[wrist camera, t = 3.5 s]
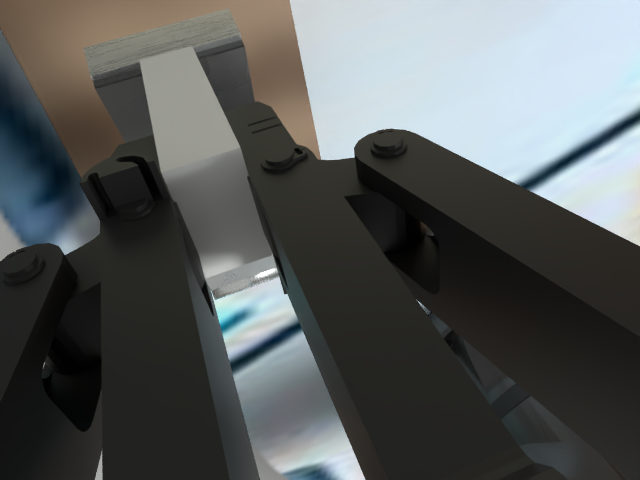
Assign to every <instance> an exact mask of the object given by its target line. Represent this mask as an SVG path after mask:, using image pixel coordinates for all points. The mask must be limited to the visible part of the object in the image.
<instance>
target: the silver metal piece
mask: <svg viewBox="0 0 640 480" xmlns="http://www.w3.org/2000/svg"><path fill="white" fill-rule="evenodd" d="M189 46H192V47H193V49H194V51H195V53H196V56H197V58H198V60H199V62H200V64H201V66H202V68H203V70H204V72H205V74H206V76H207V79H208V81H209V83H210V85H211V87H212V89H213V91H214V93H215V95H216V97H217V99H218V102H219V104H220V106H221V108H222V110H223V112H224V111H227V110H231V109H234V108H237V107H241V106H244V105H247V104H251V103H254V102H255V99H254V93H253V88H252V83H251V77H250V72H249V66H248V61H247V56H246V50H245V46H244V44H243V41H242V38H241V34H240V32H239V29H238V27H237V25H236V23H235V20H234V18H233V16H232V14H231V12H230V9H229V8H228V9H224V10H221V11H217V12H213V13H210V14H206V15H202V16H199V17H195V18H191V19H188V20H184V21H180V22H176V23H173V24H169V25H165V26H162V27H158V28H154V29H151V30H147V31H143V32H139V33H136V34H132V35H128V36H125V37H121V38H117V39H114V40H110V41H106V42H103V43H99V44H95V45H91V46H88V47H84V48H83V49H84V53H85V57H86V61H87V65H88V69H89V74H90V77H91V79H92V80H93V83H94V87H95V90H96V92H97V93H98V95H99V97H100V99H101V100H102V102H103V104H104V106H105V107H106V109H107V111H108V113H109V115H110V116H111V118H112V120H113V122H114V123H115V125H116V127H117V129H118V130H119V132H120V134H121V136H122V137H123V139H124V141H125V143H127V142H130V141H134V140H137V139H140V138H144V137H147V136H150V135H154V133H153V128H152V123H151V118H150V113H149V107H148V102H147V97H146V92H145V87H144V81H143V76H142V71H141V66H140V61H139V60H142V59H146V58H149V57H153V56H156V55H160V54H164V53H167V52H171V51H174V50H178V49H182V48H185V47H189ZM271 252H272V251H271ZM203 273H204V271H203ZM204 277H205V279H206V282H207V284H208V286H209V288H210V289H211V291H212V293H213V296H214V298H215V300H217V299H220V298H222V297H225V296H228V295H231V294H233V293H236V292H239V291H242V290H245V289H247V288H250V287H253V286H256V285H258V284H261V283H264V282H267V281H270V280H272V279H275V278H278V277H279V274H278V270H277V267H276V264H275V260H274V257H273V254H272V255H271V256H268V257H265V258H262V259H260V260H257V261H254V262H251V263H248V264H245V265H243V266H240V267H237V268H234V269H231V270H228V271H226V272H223V273H220V274H217V275H214V276H211V277H208V278H206V276H205V274H204Z"/></svg>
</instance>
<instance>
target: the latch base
mask: <svg viewBox="0 0 640 480" xmlns="http://www.w3.org/2000/svg"><path fill="white" fill-rule="evenodd" d="M228 8H229V9H230V12H231V14H232V16H233V18H234V20H235V23H236V25H237V27H238V29H239V32H240V34H241V38H242V41H243V44H244V46H245V50H246V56H247V61H248V66H249V72H250V77H251V83H252V88H253V93H254V99H255V102H257V101H259V102H261V103H263V104H266V105H268V106H271V107H272V109H273V110H274V112H275V113H276V115H277V117H278V118H279V119H280V121H281V122H282V124H283V125H284V126H285V128H286V129H287V131H288V132H289V134H290V135H291V137H292V138H293V140H294V141H295V143H296V144H298V145H302V146H305V147H307V148H308V149H310V150H311V151H312V152H313V153H314V155H315V156H316V158H317V159H318V160H321V157H320V152H319V147H318V142H317V137H316V132H315V127H314V122H313V117H312V112H311V107H310V102H309V97H308V92H307V87H306V82H305V77H304V72H303V67H302V62H301V57H300V52H299V47H298V42H297V36H296V31H295V26H294V21H293V16H292V11H291V6H290V1H289V0H0V29H1V31H2V33H3V34H4V36H5V38H6V40H7V42H8V44H9V45H10V47H11V49H12V51H13V53H14V55H15V57H16V58H17V60H18V62H19V64H20V66H21V68H22V69H23V71H24V73H25V75H26V77H27V79H28V81H29V82H30V84H31V86H32V88H33V90H34V92H35V93H36V95H37V97H38V99H39V101H40V103H41V105H42V106H43V108H44V110H45V112H46V114H47V116H48V117H49V119H50V121H51V123H52V125H53V127H54V129H55V130H56V132H57V134H58V136H59V138H60V140H61V141H62V143H63V145H64V147H65V149H66V151H67V153H68V154H69V156H70V158H71V160H72V162H73V164H74V165H75V167H76V169H77V171H78V173H79V175H80V177H81V178H82V176H83V175H84V174H85V173H86V172H87V171H88V170H89V169H90V168H91V167H93V166H95V165H96V164H98V163H99V162H101V161H103V160H105V159H108V158H110V157H111V155H112V154H113V152H114V151H115V149H116V148H117V146H118V145H120V144H124V143H125V141H124V139H123V137H122V136H121V134H120V132H119V130H118V129H117V127H116V125H115V123H114V122H113V120H112V118H111V116H110V115H109V113H108V111H107V109H106V107H105V106H104V104H103V102H102V100H101V99H100V97H99V95H98V93H97V92H96V90H95V87H94V83H93V80H92V79H91V77H90V74H89V69H88V65H87V61H86V57H85V53H84V49H83V48H84V47H88V46H91V45H95V44H99V43H103V42H106V41H110V40H114V39H117V38H121V37H125V36H128V35H132V34H136V33H139V32H143V31H147V30H151V29H154V28H158V27H162V26H165V25H169V24H173V23H176V22H180V21H184V20H188V19H191V18H195V17H199V16H202V15H206V14H210V13H213V12H217V11H221V10H224V9H228ZM209 289H210V288H209ZM210 290H211V289H210Z"/></svg>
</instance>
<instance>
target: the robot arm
mask: <svg viewBox="0 0 640 480" xmlns="http://www.w3.org/2000/svg"><path fill="white" fill-rule="evenodd" d="M139 61H140V66H141V71H142V76H143V81H144V87H145V92H146V97H147V102H148V107H149V113H150V118H151V123H152V128H153V133H154V135H150V136H147V137H144V138H140V139H137V140H134V141H130V142H127V143H124V144H120V145H118V146H117V148H116V149H115V151H114V152H113V154H112V155H111V157H110V158H108V159H105V160H103V161H101V162H99V163H98V164H96V165H95V166H93V167H91V168H90V169H89V170H88V171H87V172H86V173H85V174H84V175H83V176H82V179H81V181H80V186H81V187H82V189H83V191H84V193H85V194H86V196H87V198H88V200H89V202H90V203H91V205H92V207H93V209H94V210H95V212H96V214H97V216H98V218H99V219H100V234H99V235H98V236H97V237H96V238H94V239H93V240H92V241H90V242H88V243H87V244H85V245H83V246H82V247H80V248H78V249H76V250H74V251H72V252H70V253H69V254H67V255H64V253H63V252H62V250H61V249H60V248H59V246H56V245H53V244H50V243H46V244H35V245H32V246H29V247H24V248H21V249H19V250H16V252H13V253H11V254H9V255H7V256H6V257H5V258H4V259H3V260H2V261H0V480H95V476H96V472H97V468H98V463H99V459H100V455H101V451H102V455H103V456H102V462H103V463H102V465H103V480H260V478H259V474H258V470H257V467H256V463H255V459H254V455H253V451H252V447H251V443H250V439H249V436H248V432H247V428H246V424H245V420H244V416H243V413H242V409H241V405H240V401H239V397H238V393H237V389H236V386H235V382H234V378H233V374H232V370H231V366H230V363H229V359H228V355H227V351H226V347H225V343H224V339H223V336H222V332H221V328H220V324H219V320H218V316H217V313H216V309H215V305H214V301H213V297H212V293H211V291H210V289H209V286H208V284H207V282H206V279H205V277H204V274H205V276H206V278H208V277H211V276H214V275H217V274H220V273H223V272H226V271H228V270H231V269H234V268H237V267H240V266H243V265H245V264H248V263H251V262H254V261H257V260H260V259H262V258H265V257H268V256H271V255H272V254H273V257H274V260H275V264H276V267H277V270H278V274H279V277H280V280H281V284H282V287H283V291H284V294H288V296H289V299H290V301H291V303H292V306H293V308H294V311H295V313H296V315H297V318H298V320H299V322H300V325H301V327H302V330H303V332H304V334H305V337H306V339H307V341H308V344H309V346H310V349H311V351H312V353H313V356H314V358H315V360H316V363H317V365H318V368H319V370H320V372H321V375H322V377H323V379H324V382H325V384H326V387H327V389H328V391H329V394H330V396H331V398H332V401H333V403H334V406H335V408H336V410H337V413H338V415H339V418H340V420H341V422H342V425H343V427H344V429H345V432H346V434H347V437H348V439H349V441H350V444H351V446H352V448H353V451H354V453H355V456H356V458H357V460H358V463H359V465H360V467H361V470H362V472H363V475H364V477H365V479H366V480H640V246H638V245H636V244H634V243H632V242H630V241H628V240H626V239H624V238H622V237H620V236H618V235H616V234H614V233H612V232H610V231H608V230H606V229H604V228H602V227H600V226H598V225H596V224H594V223H592V222H590V221H588V220H586V219H584V218H582V217H580V216H578V215H576V214H574V213H572V212H570V211H568V210H566V209H564V208H562V207H560V206H558V205H556V204H555V203H553V202H551V201H549V200H547V199H545V198H543V197H541V196H539V195H537V194H535V193H533V192H531V191H529V190H527V189H525V188H523V187H521V186H519V185H517V184H515V183H513V182H511V181H509V180H507V179H505V178H503V177H501V176H499V175H497V174H495V173H493V172H491V171H489V170H487V169H485V168H483V167H481V166H479V165H477V164H475V163H473V162H471V161H469V160H467V159H465V158H463V157H461V156H459V155H457V154H455V153H453V152H451V151H449V150H447V149H445V148H443V147H441V146H439V145H437V144H435V143H433V142H431V141H429V140H427V139H426V138H424V137H422V136H420V135H418V134H416V133H413V132H410V131H406V130H398V129H386V130H379V131H377V132H374V133H371V134H369V135H367V136H365V137H364V138H362V139H361V140H359V141H358V143H357V144H356V146H355V147H354V152H355V158H348V159H340V160H318V159H317V158H316V156H315V155H314V153H313V152H312V151H311V150H310V149H308V148H307V147H305V146H302V145H298V144H296V143H295V141H294V140H293V138H292V137H291V135H290V134H289V132H288V131H287V129H286V128H285V126H284V125H283V124H282V122H281V121H280V119H279V118H278V117H277V115H276V113H275V112H274V110H273V109H272V107H271V106H268V105H266V104H263V103H261V102H259V101H257V102H254V103H251V104H247V105H244V106H241V107H237V108H234V109H231V110H227V111H224V112H223V110H222V108H221V106H220V104H219V102H218V99H217V97H216V95H215V93H214V91H213V89H212V87H211V85H210V83H209V81H208V79H207V76H206V74H205V72H204V70H203V68H202V66H201V64H200V62H199V60H198V58H197V56H196V53H195V51H194V49H193V47H192V46H189V47H185V48H182V49H178V50H174V51H171V52H167V53H164V54H160V55H156V56H153V57H149V58H146V59H142V60H139ZM271 251H272V252H271ZM203 271H204V273H203ZM416 299H417V300H418V301H419V302H420V303H421V304H423V305H424V306H425V307H426V308H427V309H428V310H430V311H431V312H432V313H431V314H430V315H429V316H427V314H426V313H425V311H424V310H423V309H422V307H421V306H420V304H419V303H418V301H417V300H416ZM44 362H45V365H44ZM43 365H44V368H43Z"/></svg>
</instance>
